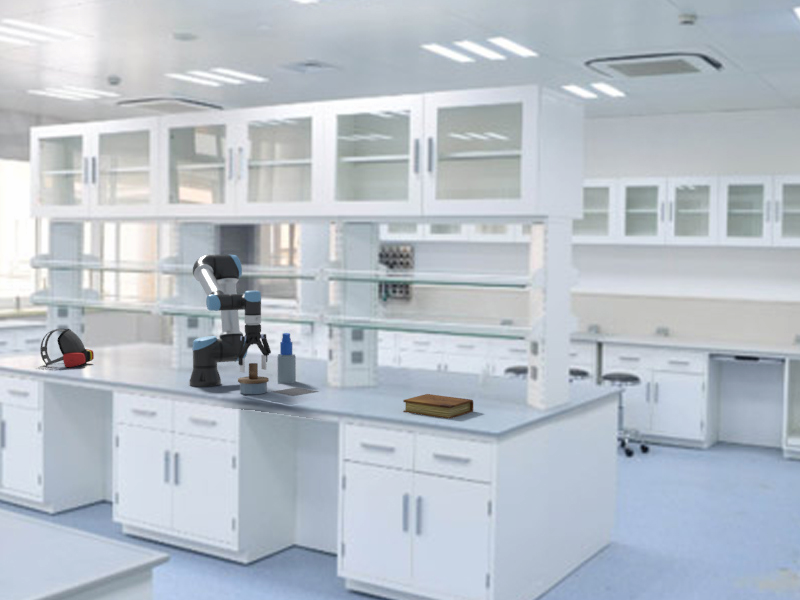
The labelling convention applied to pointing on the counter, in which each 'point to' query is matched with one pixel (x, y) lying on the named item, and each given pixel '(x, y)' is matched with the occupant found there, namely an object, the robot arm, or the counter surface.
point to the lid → (253, 376)
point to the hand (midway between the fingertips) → (253, 370)
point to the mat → (295, 391)
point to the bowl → (253, 388)
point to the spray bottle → (286, 361)
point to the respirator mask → (68, 349)
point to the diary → (438, 406)
